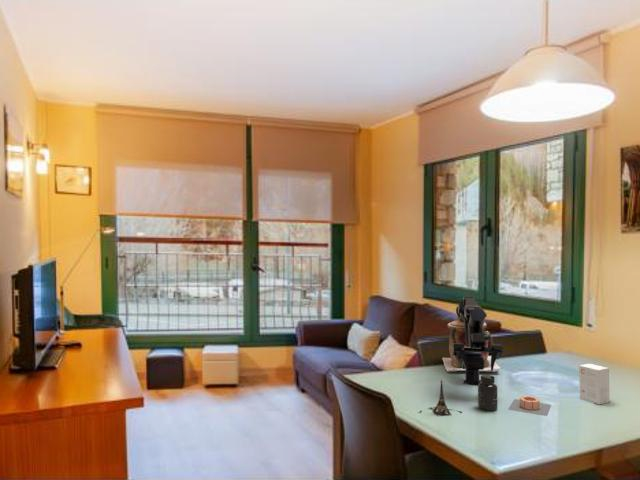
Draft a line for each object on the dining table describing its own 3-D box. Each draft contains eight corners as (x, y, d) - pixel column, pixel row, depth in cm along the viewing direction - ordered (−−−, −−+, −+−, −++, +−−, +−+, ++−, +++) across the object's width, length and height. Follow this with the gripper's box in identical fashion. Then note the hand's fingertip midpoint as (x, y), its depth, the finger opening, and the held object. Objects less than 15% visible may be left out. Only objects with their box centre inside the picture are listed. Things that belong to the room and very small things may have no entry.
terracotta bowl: (521, 402, 181) (521, 394, 181) (540, 405, 177) (540, 397, 177) (518, 408, 175) (518, 400, 175) (538, 411, 172) (538, 403, 172)
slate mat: (514, 399, 185) (514, 399, 185) (551, 405, 178) (551, 404, 178) (507, 410, 174) (507, 409, 174) (547, 416, 167) (547, 416, 167)
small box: (610, 402, 181) (609, 368, 181) (599, 405, 178) (598, 370, 178) (589, 396, 189) (589, 363, 189) (579, 398, 186) (578, 365, 186)
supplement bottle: (499, 413, 171) (498, 379, 171) (479, 412, 173) (478, 378, 173) (496, 406, 178) (495, 374, 178) (476, 405, 179) (476, 373, 179)
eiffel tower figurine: (468, 414, 172) (467, 377, 172) (458, 423, 164) (458, 384, 164) (428, 406, 181) (428, 371, 181) (417, 414, 172) (417, 377, 172)
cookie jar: (441, 360, 246) (438, 298, 246) (491, 360, 242) (487, 296, 243) (446, 373, 221) (443, 304, 222) (502, 372, 218) (498, 302, 218)
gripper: (453, 323, 189) (455, 359, 179) (503, 324, 185) (508, 361, 175) (451, 337, 197) (453, 372, 187) (499, 338, 193) (504, 374, 184)
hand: (479, 370), depth 183 cm, fingers open, 9 cm apart
